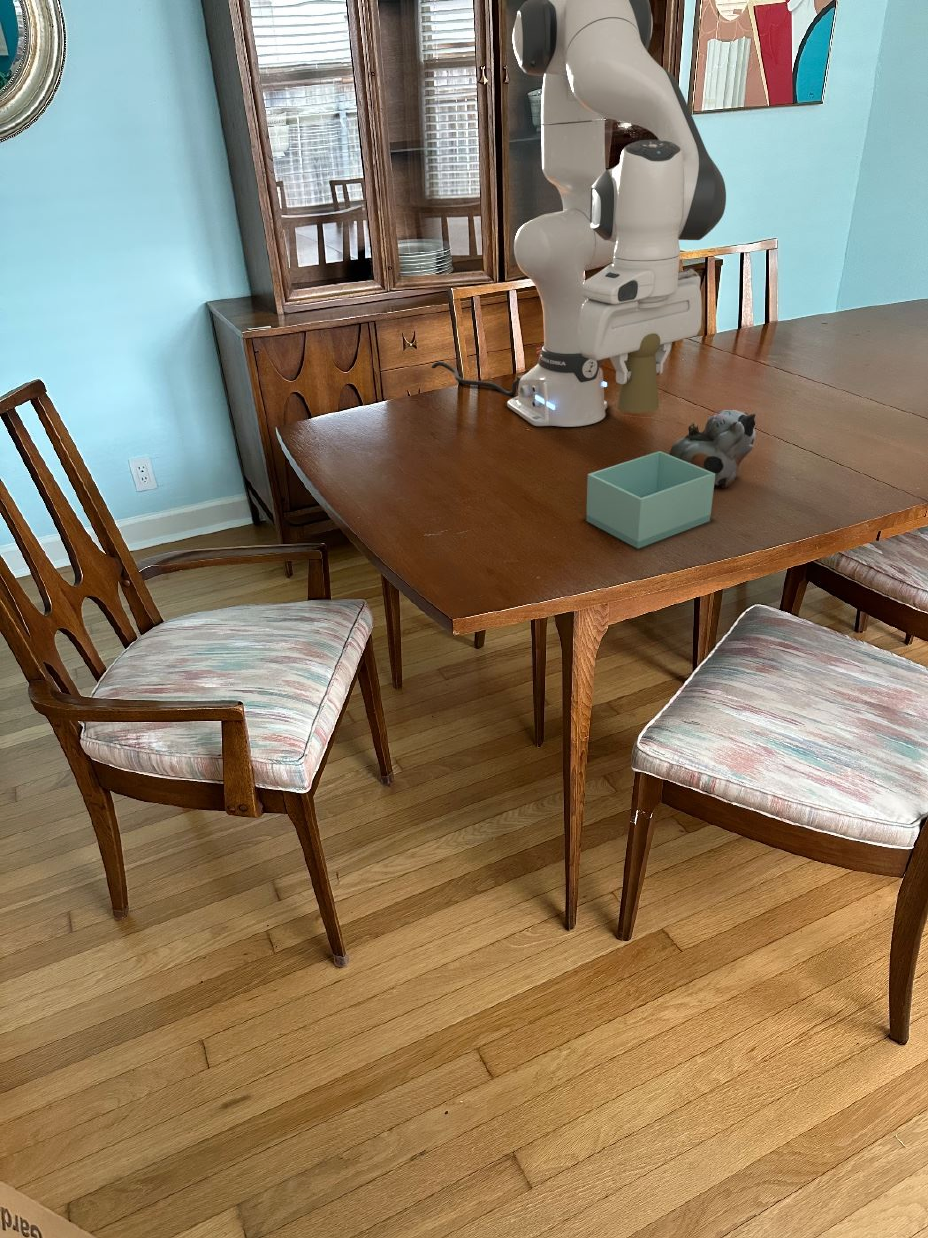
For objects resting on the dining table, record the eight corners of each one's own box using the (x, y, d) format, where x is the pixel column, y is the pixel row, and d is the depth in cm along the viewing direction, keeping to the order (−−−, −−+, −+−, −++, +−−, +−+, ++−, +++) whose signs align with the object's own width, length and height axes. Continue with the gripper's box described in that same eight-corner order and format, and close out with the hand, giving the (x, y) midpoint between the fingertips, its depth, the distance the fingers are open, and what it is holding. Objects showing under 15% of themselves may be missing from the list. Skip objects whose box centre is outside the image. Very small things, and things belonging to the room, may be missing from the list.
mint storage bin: (587, 474, 131) (641, 499, 123) (659, 450, 138) (715, 473, 129) (586, 521, 136) (637, 548, 127) (656, 496, 142) (710, 521, 133)
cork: (658, 413, 123) (664, 335, 117) (615, 412, 124) (619, 335, 118) (658, 399, 128) (664, 324, 122) (617, 399, 129) (621, 324, 123)
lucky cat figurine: (663, 459, 155) (703, 387, 150) (723, 489, 154) (765, 418, 149) (661, 467, 141) (704, 389, 136) (727, 501, 140) (773, 423, 135)
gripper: (684, 263, 123) (676, 359, 130) (572, 285, 114) (570, 387, 121) (717, 269, 118) (707, 369, 126) (602, 292, 109) (599, 398, 117)
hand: (639, 378), depth 123 cm, fingers closed on cork, 4 cm apart
